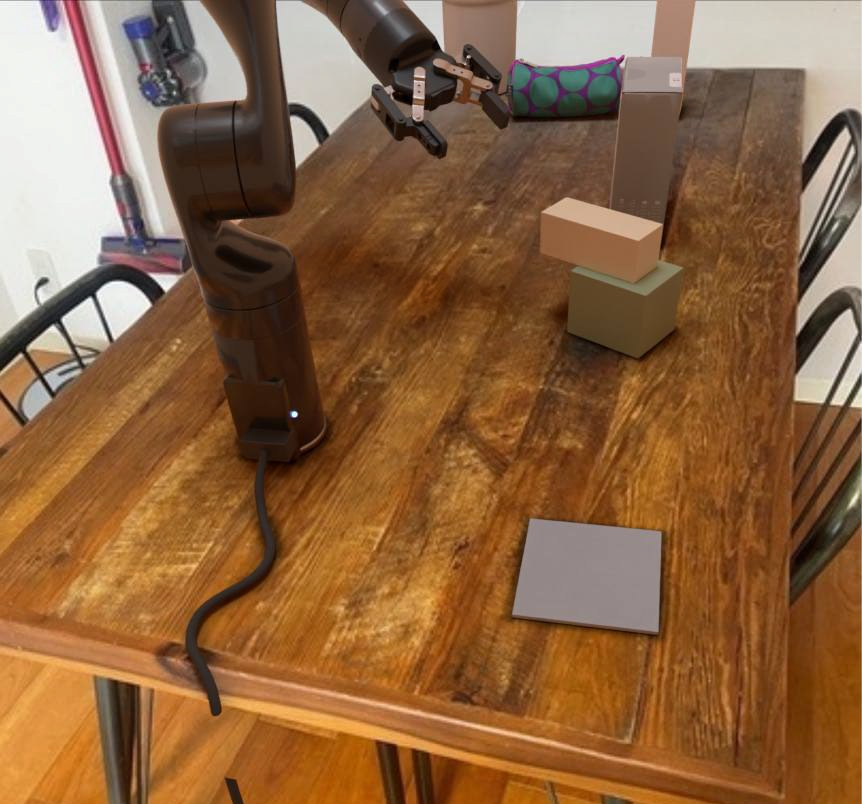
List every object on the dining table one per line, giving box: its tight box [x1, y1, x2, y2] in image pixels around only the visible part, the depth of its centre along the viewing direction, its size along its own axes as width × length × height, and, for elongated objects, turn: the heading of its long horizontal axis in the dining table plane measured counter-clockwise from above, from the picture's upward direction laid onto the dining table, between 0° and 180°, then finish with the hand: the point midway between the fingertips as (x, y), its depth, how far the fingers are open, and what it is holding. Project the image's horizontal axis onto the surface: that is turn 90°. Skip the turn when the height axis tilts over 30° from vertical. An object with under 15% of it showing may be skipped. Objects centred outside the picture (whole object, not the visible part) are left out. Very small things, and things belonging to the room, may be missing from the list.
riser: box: [566, 259, 685, 359], centre depth 101 cm, size 10×8×8 cm
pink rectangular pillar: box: [650, 0, 696, 116], centre depth 148 cm, size 6×6×22 cm
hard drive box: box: [608, 56, 684, 246], centre depth 117 cm, size 16×8×20 cm, turn 168°
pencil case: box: [505, 54, 626, 118], centre depth 155 cm, size 21×9×10 cm, turn 85°
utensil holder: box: [441, 0, 518, 95], centre depth 166 cm, size 15×15×18 cm
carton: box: [539, 196, 664, 283], centre depth 98 cm, size 13×5×5 cm, turn 48°
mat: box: [511, 517, 663, 636], centre depth 75 cm, size 12×12×1 cm
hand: (475, 137), depth 92 cm, fingers open, 8 cm apart
